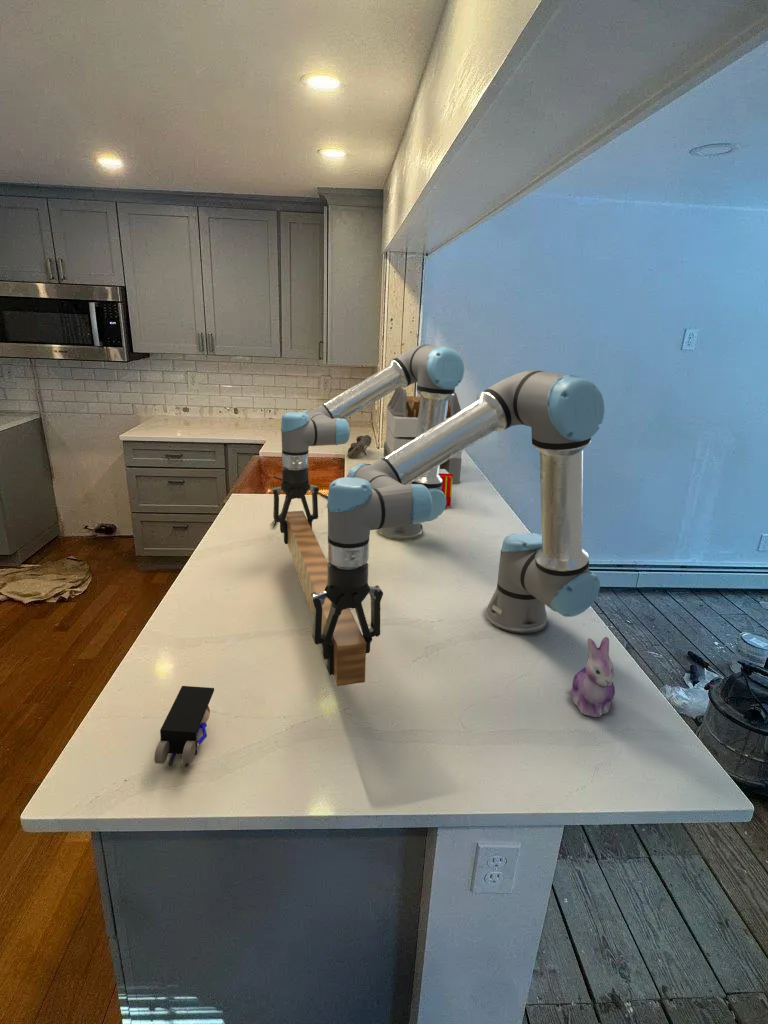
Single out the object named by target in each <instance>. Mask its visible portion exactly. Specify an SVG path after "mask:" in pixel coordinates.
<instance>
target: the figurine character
mask: <svg viewBox="0 0 768 1024" xmlns="http://www.w3.org/2000/svg"><path fill="white" fill-rule="evenodd" d="M214 692H215V687H206V686H194V685H193V686H189V685H182V686H181V687H180V689H179V691H178V693H177V695H176V697H175V698H174V701H173V704H172V705H171V707H170V709H169V712H168V714H167V716H166V718H165V719H164V721H163V723H162V726H161V728H160V729H159V733H160V740H159V742H158V743H157V745H156V748H155V751H154V757H153V758H154V763H155V764H160V765H165V763H166V762H167V759H168V757H169V755H170V757H169V759H168V762H167V767H168V768H171V767H173V765H174V762H175V759H176V757H177V755H181V762H182V764H184V767H185V768H188V767H189V766H190V764H192V763H193V762H194V760H195V756H197V755H198V748H199V746H200V744H202V742H203V741H204V740H205V739H206V738H207V737H208V734H207V729H206V728H207V727H208V723H207V722H208V721H209V719H210V716H211V710H210V707H209V705H210V702H211V700H212V697H213V694H214ZM200 729H201V732H202V735H201V736H200V737H199V738H198V735H199V731H200Z"/></svg>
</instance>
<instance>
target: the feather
mask: <svg viewBox="0 0 768 1024" xmlns="http://www.w3.org/2000/svg"><path fill="white" fill-rule="evenodd" d="M280 515H281V513H279V517H280ZM277 523H278V522H275V521H274V520H273V521H272V522H271V524H270V526H272V525H273V529H274V528H275V526H276V524H277Z"/></svg>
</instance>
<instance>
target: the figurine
mask: <svg viewBox="0 0 768 1024" xmlns="http://www.w3.org/2000/svg"><path fill="white" fill-rule="evenodd" d="M586 641H587V643H586V644H587V659H588V660H587V662H586V664H585V666H584V667H583V668H580V669H579V670H578V671H576V673H575V674H574V675H573V679H572V686H571V691H570V692H571V699H572V702H573V704H574V705H575V706H576V707H577V708H578V710H579V711H580V713H581V714H583V715H584V716H589V717H594V718H600V717H601V716H602V715H605V714H607V713H608V712H609V711H610V708H611V704H612V702H613V699H614V697H615V693H616V690H615V689H616V688H615V684H614V682H613V681H614V680H613V679H614V677H615V667H614V664H613V662H612V659H611V658H610V654H609V653H610V638H609V637H608V636H604V637H603V638H602V640H601V642H600V645H599V647H598V646H597V644H596V643H595V641H594V640H593V639H592V637H591V638H590V637H588V638H587V640H586Z"/></svg>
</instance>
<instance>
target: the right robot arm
mask: <svg viewBox="0 0 768 1024" xmlns="http://www.w3.org/2000/svg"><path fill="white" fill-rule="evenodd" d="M605 411H606V405H605V400H604V397H603V393H602V392H601V390H600V388H599V387H598V386H597V385H595V383H593V382H592V381H590V380H588V379H585V378H581V377H579V376H577V375H573V374H562V373H556V372H548V371H545V370H539V369H538V370H537V369H531V370H524V371H521V372H518V373H515V374H513V375H511V376H508V377H506V378H504V379H502V380H499V381H498V382H496V383H494V384H493V385H491V386H489V387H488V388H486V389H484V390H483V391H481V392H479V393H478V394H477V396H476V401H474V402H472V403H470V404H469V405H467V406H465V407H464V408H463V409H462V408H461V411H459V412H457V413H456V414H454V415H453V416H451V417H449V418H448V419H446V420H444V421H443V422H441V423H439V424H438V425H436V426H435V427H433V428H431V429H430V430H428V431H426V432H425V433H423V434H421V435H420V436H418V437H417V438H415V439H413V440H412V441H410V442H408V443H407V444H405V445H403V446H402V447H400V448H399V449H397V450H395V451H394V452H392V453H390V454H389V455H387V456H385V457H384V456H383V457H382V458H380V459H379V460H377V461H375V462H374V463H367V462H362V463H358V464H357V463H356V464H355V465H354V466H353V467H351V468H350V470H349V471H348V473H347V475H346V476H344V477H338V478H336V479H334V480H332V481H331V482H330V484H329V486H328V493H327V496H328V498H327V504H326V508H327V562H328V564H327V586H326V588H325V590H324V591H323V592H320V593H318V594H317V593H316V592H313V593H312V594H311V598H312V600H313V603H314V606H313V617H312V627H311V628H312V631H311V636H312V639H313V642H314V644H315V645H316V646H317V645H321V655H322V658H323V660H326V669H327V671H328V675H329V676H333V670H334V645H333V643H332V640H331V639H332V636H333V633H334V630H335V627H336V624H337V621H338V618H339V615H341V612H342V610H344V609H347V608H350V610H353V609H354V610H355V613H356V616H357V620H358V624H359V626H360V627H359V628H360V631H361V633H362V635H363V637H364V640H365V642H366V654H369V653H370V652H371V643H372V642H373V638H374V637H379V636H380V635H381V601H382V600H383V599H382V598H383V596H384V592H383V590H382V588H381V587H380V586H379V585H378V584H377V585H375V586H371V585H369V558H370V557H369V555H370V536H371V535H370V534H371V531H375V530H376V531H377V530H379V529H383V528H392V527H400V526H408V525H409V526H412V525H414V524H419V523H421V524H423V523H426V521H427V520H428V519H429V517H430V515H431V513H432V498H431V495H430V492H429V490H428V489H427V488H426V487H425V486H424V485H422V484H410V483H412V482H413V481H415V480H417V479H418V478H420V477H421V476H423V475H425V474H426V473H428V472H429V471H431V470H433V469H434V468H436V467H437V466H439V465H441V464H442V463H444V462H445V461H447V460H449V459H450V458H452V457H453V456H455V455H457V454H458V453H460V452H461V451H462V452H463V451H465V450H466V449H468V448H469V447H471V446H473V445H475V444H476V443H478V442H479V441H481V440H483V439H484V438H485V437H487V436H489V435H490V434H493V432H497V433H502V432H504V431H506V430H507V429H508V428H511V427H514V426H520V425H521V426H526V427H529V428H531V445H532V446H533V447H534V448H535V449H536V450H537V451H538V452H539V477H540V478H539V479H540V480H539V481H540V486H539V487H540V520H541V521H540V525H541V526H540V527H541V534H538V533H533V532H518V533H517V532H516V533H512V534H508V535H507V536H505V537H504V539H503V540H502V546H501V549H500V555H499V556H500V557H499V565H498V574H497V582H496V589H495V590H494V592H493V594H492V596H491V598H490V600H489V602H488V605H487V607H486V613H485V614H486V618H487V620H488V622H490V624H492V625H493V626H495V627H496V628H499V629H500V630H502V631H505V632H508V633H509V632H510V633H515V634H522V635H525V634H526V635H527V634H535V633H539V632H540V631H543V629H544V628H545V627H546V625H547V620H548V615H547V614H548V613H547V608H546V607H548V608H550V610H551V611H553V612H556V613H558V614H559V615H561V616H563V617H567V618H573V617H576V616H579V615H581V614H583V613H584V612H586V611H587V610H588V609H589V608H590V607H591V606H592V605H593V603H594V602H595V601H596V599H597V597H598V596H599V593H600V590H601V581H600V578H599V576H597V575H596V573H594V572H591V570H590V556H589V553H588V552H587V551H586V550H585V549H584V548H583V500H584V499H583V497H584V496H583V493H584V492H583V491H584V489H583V488H584V486H583V485H584V484H583V483H584V481H583V480H584V449H585V448H586V447H588V446H589V445H590V444H591V442H592V438H593V437H594V436H595V435H596V434H597V432H599V430H600V425H602V424H603V422H604V418H605V413H606V412H605ZM368 595H369V597H370V627H369V624H368V622H367V618H366V614H365V609H364V607H363V604H362V603H363V602H364V600H365V599H366V597H367V596H368ZM325 598H328V599H329V600H330V601H331V606H330V611H329V615H328V618H327V621H326V624H325V627H324V630H323V633H322V635H321V627H322V606H321V605H323V604H324V602H325V601H324V600H325Z"/></svg>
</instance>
